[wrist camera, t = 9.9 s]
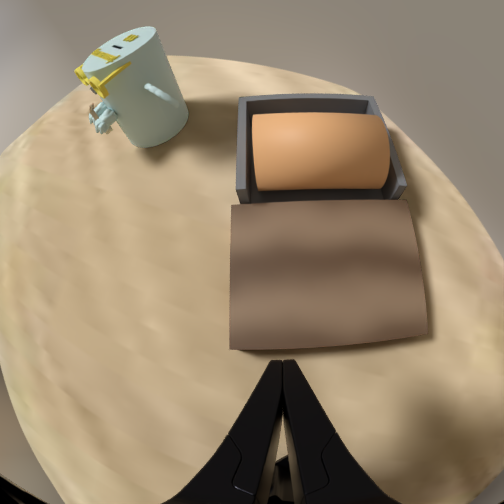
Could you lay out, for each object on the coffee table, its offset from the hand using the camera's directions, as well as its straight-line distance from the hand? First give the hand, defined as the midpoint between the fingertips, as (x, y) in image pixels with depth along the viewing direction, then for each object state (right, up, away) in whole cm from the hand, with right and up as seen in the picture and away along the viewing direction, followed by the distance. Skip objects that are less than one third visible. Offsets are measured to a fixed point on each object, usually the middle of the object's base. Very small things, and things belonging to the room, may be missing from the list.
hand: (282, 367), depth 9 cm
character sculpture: (-14, +20, +23) cm, 34 cm away
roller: (+5, +13, +14) cm, 20 cm away
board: (+5, +2, +14) cm, 15 cm away
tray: (+5, +13, +18) cm, 23 cm away
